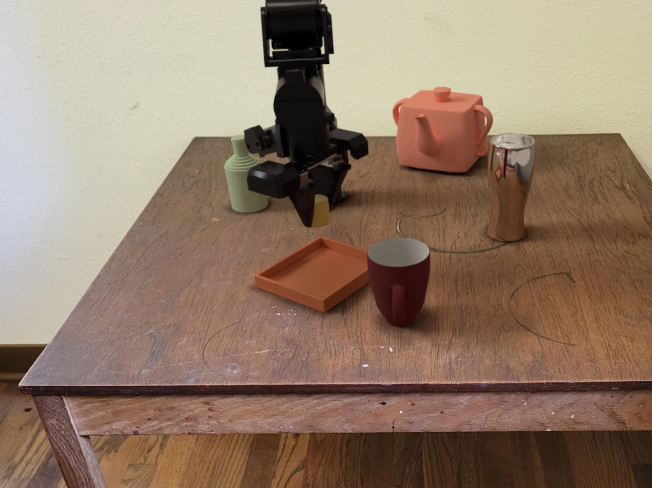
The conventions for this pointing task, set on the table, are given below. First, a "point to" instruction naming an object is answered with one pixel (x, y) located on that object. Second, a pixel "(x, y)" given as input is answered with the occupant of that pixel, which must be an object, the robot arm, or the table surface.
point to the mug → (399, 278)
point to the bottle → (242, 178)
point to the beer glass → (509, 184)
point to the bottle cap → (321, 212)
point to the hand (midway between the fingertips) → (316, 221)
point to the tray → (317, 274)
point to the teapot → (441, 130)
